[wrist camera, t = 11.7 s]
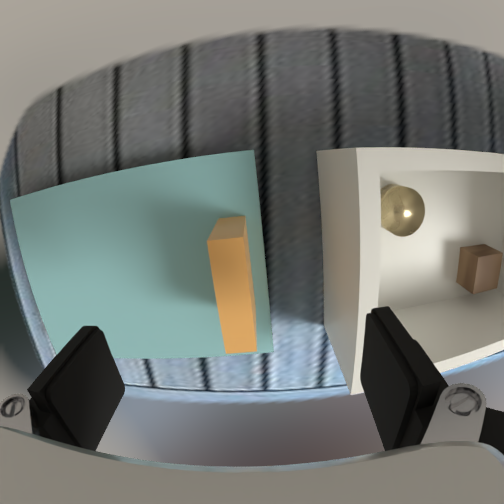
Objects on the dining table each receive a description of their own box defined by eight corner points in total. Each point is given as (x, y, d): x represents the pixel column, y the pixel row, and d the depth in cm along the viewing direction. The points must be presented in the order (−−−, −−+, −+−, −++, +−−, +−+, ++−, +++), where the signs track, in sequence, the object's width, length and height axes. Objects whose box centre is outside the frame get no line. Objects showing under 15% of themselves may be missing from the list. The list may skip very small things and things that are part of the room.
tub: (504, 155, 19) (570, 164, 11) (493, 292, 22) (544, 330, 15) (316, 150, 19) (356, 147, 12) (323, 325, 23) (350, 395, 15)
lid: (253, 150, 20) (254, 146, 12) (271, 332, 24) (278, 400, 16) (29, 194, 20) (-35, 213, 13) (70, 339, 24) (29, 389, 17)
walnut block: (484, 243, 20) (502, 252, 18) (480, 277, 21) (497, 288, 19) (460, 247, 20) (478, 257, 18) (455, 282, 21) (472, 294, 19)
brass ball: (411, 182, 19) (424, 185, 17) (412, 227, 20) (425, 233, 18) (370, 185, 19) (381, 189, 17) (373, 232, 20) (383, 239, 18)
